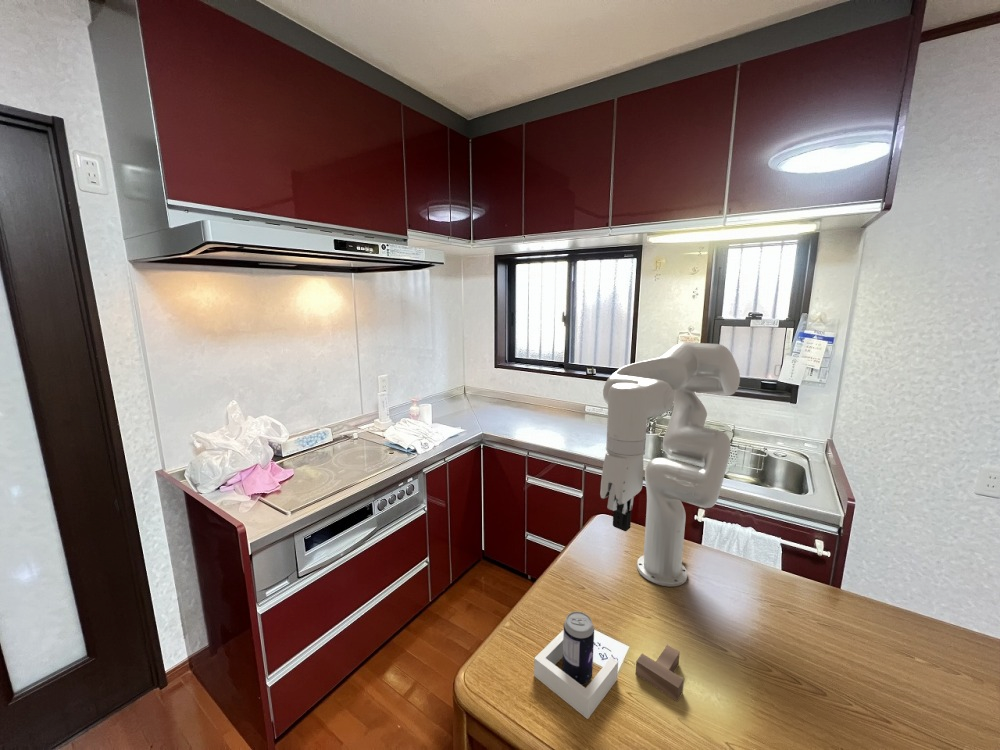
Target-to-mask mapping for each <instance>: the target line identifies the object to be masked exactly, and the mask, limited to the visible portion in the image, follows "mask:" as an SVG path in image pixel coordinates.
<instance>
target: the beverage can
mask: <svg viewBox="0 0 1000 750" xmlns="http://www.w3.org/2000/svg"><path fill="white" fill-rule="evenodd" d="M563 629H564V635H563V657H562V671H563V672H565V673H566V674H567V675H569V676H570V677H571V678H573V679H574V680H575V681H577V682H578V683H579V684H581V685H582V686H584V685H586V684H589V683H590V682H591V681H592V679H593V669H594V668H593V666H594V645H595V644H594V643H595V626H594V624H593V621H592V618H591V616H589V615H588V614H586V613H584V612H582V611H572V612H570V613H568V614H567V615H566V618H565V620H564V622H563Z"/></svg>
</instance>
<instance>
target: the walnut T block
mask: <svg viewBox="0 0 1000 750" xmlns="http://www.w3.org/2000/svg"><path fill="white" fill-rule="evenodd" d="M680 655H681V652H680V651H679V650H677V649H676V648H675V647H672V646H670V645H668V644H666V645H665V648H664V649H663V651H661V654H660V655H659V656H658V657H657V658H656V660H654V659H652V658H651V657H649V656H647V655H646V654H644V653H641V654H640V656H639V657H638V658H637V659H636V662H635V675H636V676H637V677H638V678H640V679H642V680H643V681H645V682H646V683H647V684H649V685H650V686H652V687H654V689H657V691H660V692H662V693H663V694H664V695H666V696H668V697H669V698H670V699H672V700H674V701H675V702H677V703H678V701H679V700H680V698H681V696H682V694H683V691H684V681H685V679H684V678H683V677H682V676H680V675H679V674H677V673H675V671H676V670H677V668H678V667H679V664H680Z"/></svg>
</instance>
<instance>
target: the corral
mask: <svg viewBox="0 0 1000 750" xmlns="http://www.w3.org/2000/svg"><path fill="white" fill-rule="evenodd" d="M563 635H564V628H563V629H562V630H561V632H559V634H557V636H555V637H554V638H553V639H552V640H550V642H549V643H548V644H546V646H545V647H544V648H543V649H542V650H541V651H539V653H538V654H537V655H536V656H535V657H534V660H533V664H534V665H533V677H535V678H536V679H537V680H539V682H541V683H542V684H543V685H545V686H546V687H547V688H548V689H550V690H551V691H552V692H553V693H554V694H555V695H556V696H558V697H559V698H561V699H562V700H563V701H565V702H566V703H567V705H569V706H570V707H572V708H573V709H574V710H576V711H577V712H578V713H579V714H581V715H582V717H584V718H586V719H587V720H589V718H590V717H591V716H592V715H593V713H594V712H595V710H596V709H597V707H599V705H600V703H601V702H602V701H603V700H604V698H605V696H606V695H607V694H608V693H609V692H610V690H611V688H612V687H613V686H614V685H615V683H616V682H617V680H618V675H619V673H618V672H619V670H618V669H619V661H618V660H616V659H615V658H613V656H611V657H609V659H608V660H607V661H606V663H605V664H604V665H603V666H602V668H600V670H599V671H598V672H597V674H596V675H595V676H594V677H593V678H592V679H591V680H590V681H589V683H588V685H587V686H586V687H585V686H584V685H581V684H579V683H578V682H577V681H575V680H574V679H573V678H571V677H570V676H569V675H567V674H566V673H565V672H563V669H561V668H560V667H558V666H557V664H558V662H560V660H562V659H563Z"/></svg>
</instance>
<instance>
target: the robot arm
mask: <svg viewBox="0 0 1000 750" xmlns="http://www.w3.org/2000/svg"><path fill="white" fill-rule="evenodd" d="M740 383H741V374H740V370H739V368H738V364H737V363H736V360H735V358H734V356H733V353H732V352H731V351H730V350H729V348H727V347H726V346H724V345H722V344H719V343H703V342H690V341H689V342H680V343H678V344H675V345H673V346H672V347H671V348H669V349H668V350H667V351H666V352H664V353H663V354H662V355H661V356H659V357H655V358H650V359H648V360H647V359H646V360H643V361H638V362H637V361H636V362H634V363H630V364H627V365H623V366H622V367H620V368H619V369H617V370H616V371H615V372H613V373H612V374H611V375H609V377H608V378H607V380H606V381H605V383H604V386H603V390H602V396H603V400H604V402H605V403H606V405H607V423H606V424H607V426H606V443H605V444H606V445H605V447H606V448H605V451H606V452H605V456H604V459H603V466H602V472H601V481H600V493H599V494H600V498H601V499H602V500H604V499H607V498H608V500H607V509H608V510H610V511H613V512H612V527H614V528H615V529H618V530H621V531H623V532H627V531H628V530H630V528H631V523H632V521H631V520H632V510H633V505H634V498H635V497H636V495H638V494H639V493H640V492H641V491H642V489H643V485H644V484H643V483H644V482H645V488H646V489H645V490H646V514H645V516H646V517H645V530H644V531H645V533H644V543H643V544H644V546H643V555H641V556H640V557H638V559H637V561H636V568H637V570H638V572H639V574H640V575H641V576H642V577H643V578H644V579H646V580H648V581H650V582H651V583H653V584H655V585H660V586H663V587H678V586H681V585H683V584H685V583H686V582H687V580H688V570H687V568H686V567H685V566H684V564H683V553H684V542H685V541H684V540H685V532H686V531H685V527H686V516H687V515H686V510H685V507H684V505H683V503H687V504H690V505H694V506H697V507H700V508H704V509H705V508H706V509H708V508H709V509H710V508H712V507H714V506H715V505H716V503H717V501H718V499H719V497H720V493H721V490H722V486H723V482H724V478H725V474H726V471H727V467H728V463H729V460H730V454H731V440H730V437H729V436H728V434H727V433H725V432H724V431H722V430H718V429H714V428H709V427H705V423H706V420H707V416H708V413H707V409H706V408H705V405H704V404H703V402H702V401H701V400H700V398H699V397H698V395H697V394H696V393H701V394H709V395H717V396H721V397H723V396H725V397H728V396H732V395H734V394H735V393H736V392H737V390H738V388H739V386H740ZM672 406H673V409H672V411H671V412H672V413H671V416H670V418H669V422H668V424H667V427H666V430H665V433H664V436H663V440H662V450H663V451H664V452H665V454H666V455H668V456H670V457H672V458H667V457H654V458H652V459H650V460H649V462H648V463H647V464H646V467H645V470H644V456H645V455H646V439H647V438H646V437H647V425H648V423H647V422H648V418H649V417H657V416H661V415H664V414H665V413H667V412H668V411H669V410H670V409H671V408H672ZM673 458H676V459H673ZM677 459H680V460H677ZM681 460H683V461H681ZM685 461H688V462H690V463H688V462H685ZM693 463H695V464H693ZM696 464H699V465H696ZM700 465H702V466H700ZM682 502H683V503H682Z"/></svg>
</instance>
